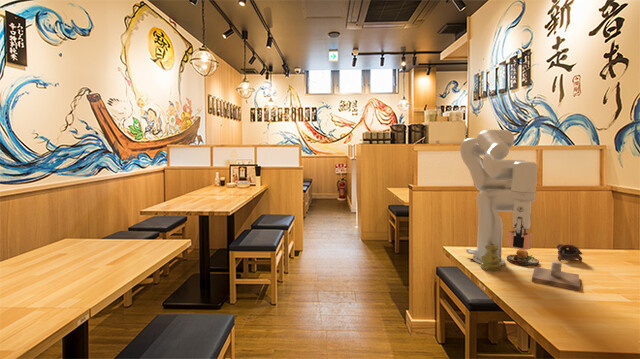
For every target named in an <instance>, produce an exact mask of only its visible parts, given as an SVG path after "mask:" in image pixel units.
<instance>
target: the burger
mask: <svg viewBox="0 0 640 359" xmlns="http://www.w3.org/2000/svg"><path fill="white" fill-rule="evenodd" d="M515 253H516V254H509V255H507V256H506V261H507V262H510V263H511V264H513V265H516V266H520V265H522V266H521V267H528V266H535V267H537V266H539V265H540V263H539V262H540V261H539V259H537V258H535V256H533V255H529V252H528V251H527V250H522V249H517V250H516V252H515ZM536 265H537V266H536Z"/></svg>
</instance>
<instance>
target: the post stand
mask: <svg viewBox="0 0 640 359" xmlns="http://www.w3.org/2000/svg"><path fill="white" fill-rule="evenodd" d="M531 282H532V283H533V282H534V283H539V284H544V285H549V286H553V287H558V288H564V289H568V290H569V289H570V290H574V291H578V292H580V289H581V284H580V283H581V282H580V274H578V273H574V272H573V273H572V272H566V271H562V262H561V261H551V268H544V267H538V266H535V267H533V273H532V275H531Z"/></svg>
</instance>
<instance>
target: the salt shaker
mask: <svg viewBox="0 0 640 359" xmlns="http://www.w3.org/2000/svg"><path fill="white" fill-rule="evenodd" d="M485 248H486V249H487V250H488V252H487V253H485V254H484V255H482V256H481V260H482V261H481V263H480V268H482V270H486V271H488V272H498V271H500V270H501V267H502V265H501V264H500V263H501V258H502V257H501V258H500V257H498V255H496V253H495V252H496V251H497V250H498V249H499V248H498V247H497V246H495V245H494V244H489V245H486V246H485Z"/></svg>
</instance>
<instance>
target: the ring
mask: <svg viewBox="0 0 640 359" xmlns="http://www.w3.org/2000/svg"><path fill="white" fill-rule="evenodd" d="M514 232H515V229H514V230H509V231H508V239H507V246H508V247H509V248H512V249H517V250H519V249H522V250H526V251H527V250H531V248H532V237H533V234H532V233H531V232H528V231H526V232H525V231H524V236H523V237H524V247H523V248H517V247H513V237H514Z"/></svg>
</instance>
